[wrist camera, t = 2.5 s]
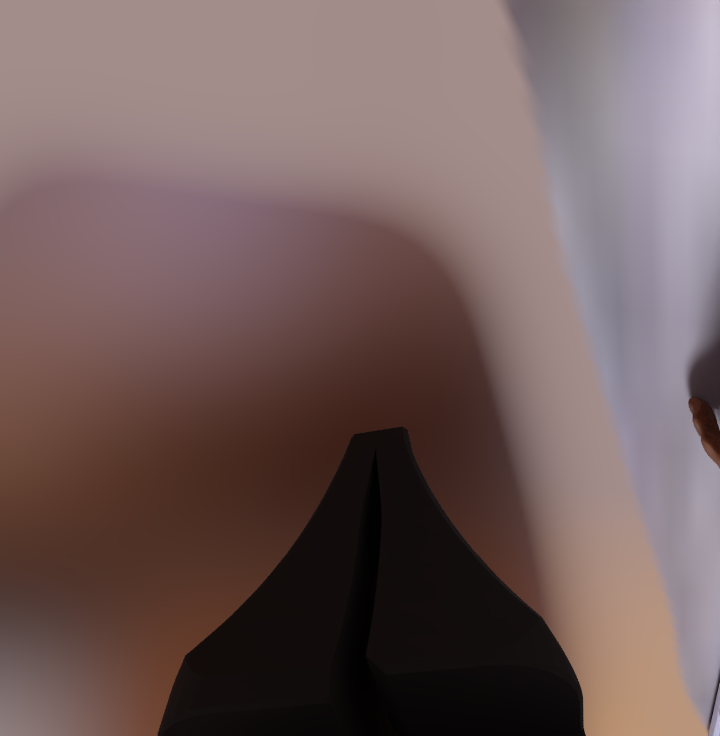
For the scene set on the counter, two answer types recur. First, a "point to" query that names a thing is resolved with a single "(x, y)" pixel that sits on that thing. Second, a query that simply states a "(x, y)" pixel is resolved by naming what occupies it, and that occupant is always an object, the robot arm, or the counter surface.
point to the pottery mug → (706, 427)
